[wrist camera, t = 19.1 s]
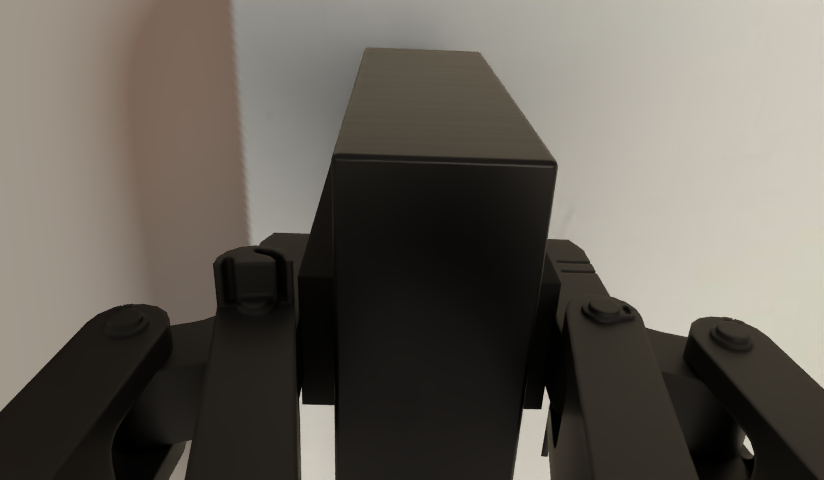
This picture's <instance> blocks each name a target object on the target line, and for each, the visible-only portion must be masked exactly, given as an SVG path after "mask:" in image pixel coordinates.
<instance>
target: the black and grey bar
mask: <svg viewBox="0 0 824 480" xmlns="http://www.w3.org/2000/svg"><path fill="white" fill-rule="evenodd" d="M331 163H332V243H333V323H334V404H335V480H513V475H514V468H515V461H516V454H517V447H518V440H519V433H520V426H521V419H522V412H523V405H524V398H525V391H526V385H527V378H528V371H529V364H530V357H531V350H532V343H533V336H534V329H535V322H536V315H537V308H538V301H539V294H540V287H541V280H542V273H543V266H544V259H545V252H546V245H547V238H548V232H549V225H550V218H551V211H552V204H553V197H554V190H555V183H556V176H557V169H558V165H557V162H556V160H555V159H554V157H553V156H552V154H551V153H550V152H549V150H548V149H547V147H546V146H545V144H544V143H543V142H542V140H541V139H540V137H539V136H538V134H537V133H536V132H535V130H534V129H533V127H532V126H531V124H530V123H529V122H528V120H527V119H526V117H525V116H524V114H523V113H522V112H521V110H520V109H519V107H518V106H517V104H516V103H515V102H514V100H513V99H512V97H511V96H510V94H509V93H508V92H507V90H506V89H505V87H504V86H503V85H502V83H501V82H500V80H499V79H498V77H497V76H496V75H495V73H494V72H493V70H492V69H491V67H490V66H489V65H488V63H487V62H486V60H485V59H484V57H483V56H482V55H481V53H479V52H469V51H444V50H419V49H393V48H365V50H364V53H363V56H362V60H361V63H360V66H359V69H358V73H357V76H356V79H355V83H354V86H353V89H352V93H351V96H350V99H349V102H348V106H347V109H346V112H345V116H344V119H343V122H342V126H341V129H340V132H339V135H338V139H337V142H336V145H335V149H334V152H333V155H332V158H331Z"/></svg>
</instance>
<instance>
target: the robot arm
mask: <svg viewBox="0 0 824 480" xmlns="http://www.w3.org/2000/svg"><path fill="white" fill-rule="evenodd" d="M213 269H214V278H215V288H216V298H217V312H216V316H213V317H211V318H208V319H205V320H201V321H196V322H191V323H185V324H178V325H172V326H170V320H169V317H168V315H167V312H165V311H164V310H162V309H160V308H159V307H156V306H151V305H146V304H127V305H123V306H117V307H114V308H112V309H109V310H107V311H104V312H102V313H100V314H98V315H96V316H95V317H94V318H93V319H91V320H90V321H88V322H87V323H86V324H85V325H84V326H83V327H82V328H81V329H80V330H79V331H78V332H77V333H76V334H75V335H74V336H73V337H72V338H71V339H70V340H69V341H68V343H67V344H66V345H65V346H64V347H63V348H62V349H61V350H60V351H59V352H58V353H57V354H56V355H55V356H54V357H53V358H52V359H51V360H50V361H49V362H48V363H47V364H46V365H45V366H44V367H43V368H42V369H41V371H39V372H38V374H37V375H36V376H35V377H34V378H33V379H32V380H31V381H30V382H29V383H28V384H27V385H26V386H25V387H24V388H23V389H22V390H21V391H20V392H19V393H18V394H17V395H16V396H15V397H14V398H13V399H12V400H11V401H10V402H9V403H8V404H7V405H6V407H5V408H4V409H3V410H2V411H1V412H0V480H169V478H170V476H171V474H172V473H173V470H174V469H175V467H176V465H177V463H178V461H179V460H180V457H181V456H182V454H183V452H184V449H185V445H186V442H187V441H189V440H192V443H191V449H190V454H189V459H188V465H187V470H186V475H185V480H301V448H300V411H299V397H300V392H301V388H302V404H310V405H335V404H334V323H333V243H332V163H331V164H330V168H329V171H328V174H327V178H326V181H325V185H324V188H323V191H322V195H321V198H320V202H319V205H318V208H317V212H316V215H315V219H314V222H313V225H312V229H311V232H310V234H300V233H273V234H272V235H271V236H269V237H268V238H266V239H265V240H263V241H262V242H261V243H260V245H259V246H256V245H255V246H247V247H240V248H236V249H233V250H230V251H227V252H225V253H224V254H222V255H220V256H219V257H218V258H217V259H216V261H215V262H214V263H213ZM545 386H546V390H547V393H548V396H549V399H550V406H549V412H548V418H547V424H546V430H545V436H544V442H543V448H542V454H541V456H545V457H547V456H548V452H549V462H550V475H551V480H824V389H823V388H822V387H821V386H820V385H819V384H818V383H817V382H816V381H815V380H813V379H812V378H811V377H810V376H809V375H808V374H807V373H806V372H805V371H804V370H803V369H802V368H801V367H800V366H799V365H798V364H796V363H795V362H794V361H793V360H792V359H791V358H790V357H789V356H788V355H787V354H786V353H785V352H784V351H783V350H782V349H781V348H779V347H778V346H777V345H776V344H775V343H774V342H773V341H772V340H771V339H770V338H769V337H768V336H766V335H765V334H764V333H762V332H761V331H759V330H758V329H756V328H754V327H752V326H750V325H748V324H745V323H744V322H742V321H739V320H736V319H734V320H732V318H727V317H705V318H699V319H697V320H696V321H694V322H693V323H692V324H691V328H690V331H689V335H688V337H683V336H679V335H674V334H669V333H664V332H659V331H656V330H652V329H648V328H646V327H645V325H644V322H643V320H642V317H641V315H640V314H639V313H638V311H637V310H636V309H635V308H634V307H632V306H631V305H629V304H628V303H626V302H624V301H621V300H619V299H616V298H614V297H610V295H609V294H608V292H607V290H606V289H605V287H604V285H603V283H602V282H601V280H600V278H599V276H598V275H597V274H595V270H594V268H593V266H592V264H590V261H589V259H588V257H587V256H586V254H585V252H584V251H583V250H582V249H581V248H579V247H578V246H577V245H575V244H574V243H572V242H571V241H569V240H558V239H547V245H546V252H545V259H544V266H543V273H542V280H541V287H540V294H539V301H538V308H537V315H536V322H535V329H534V336H533V343H532V350H531V357H530V364H529V371H528V378H527V385H526V391H525V398H524V405H523V409H541V407H542V401H543V395H544V389H545ZM746 435H747V437H748V438H749V440H750V442H751V445H752V448H753V451H754V456H753V455H752V454H751V453H750V452H749V451H748V449H747V448H746V447H745V446H744V444H743V442H744V439H745V436H746Z"/></svg>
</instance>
